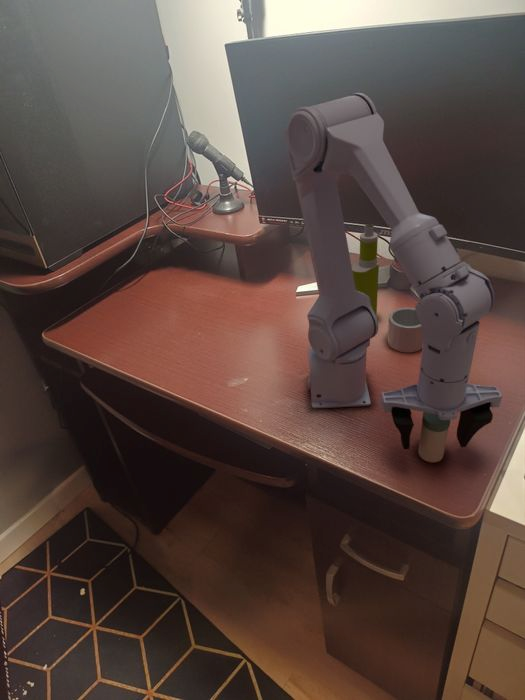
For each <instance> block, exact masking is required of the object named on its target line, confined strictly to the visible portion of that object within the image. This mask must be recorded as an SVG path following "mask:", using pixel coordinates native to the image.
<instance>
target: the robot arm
mask: <svg viewBox="0 0 525 700" xmlns="http://www.w3.org/2000/svg"><path fill="white" fill-rule="evenodd" d="M384 131H385V121H384V120H383V118H382V117H381V116H380V114H379V113H378V111H377V108H376V106H375V104H374V102H373V101H372V99H371V98H370V97H369V96H368V95H366V94H365V93H361V92H354V93H351V94H349V95H348V96H345V97H341V98H337V99H334V100H329V101H325V102H321V103H319V104H313V105H311V106H301V107H298V108H296V109H295V110H294V111H293V112H292V113H291V115H290V117H289V119H288V122H287V124H286V127H285V129H284V131H283V139H284V142H285V148H286V153H287V157H288V162H289V163H288V164H289V167H290V171H291V176H292V180H293V182H295V187H296V191H297V192H296V193H297V197H298V202H299V206H300V211H301V215H302V220H303V225H304V230H305V234H306V240H307V244H308V249H309V253H310V258H311V263H312V268H313V272H314V277H315V282H316V288H317V292H318V297H317V298H316V300H315V302H314V304H313V305H312V307H311V308H310V310H309V311H308V313H307V315H306V316H307V320H308V330H307V331H308V332H307V339H308V342H309V345H310V348H308V349H307V350H308V351H307V353H308V369H309V377H307V384H308V389H310V400H311V408H312V409H329V408H350V407H351V408H352V407H369V406H371V397H370V393H369V389H368V383H367V379H366V378H367V350H368V347H370V346H371V339H373V338H374V337H376V335H378V332H379V321H378V317H377V315H375V313H374V311H373V309H372V307H371V303H370V298H369V296H367V295H365V294H364V293H362V292H359V291H357V290H356V289H355V283H354V278H353V272H352V266H351V265H352V262H351V255H350V250H349V244H348V239H347V238H348V237H347V233H346V232H347V231H346V228H345V221H344V215H343V210H342V205H341V204H342V203H341V197H340V193H339V187H338V180H339V178H340V176H341V175H345V176H351V177H353V178H354V180H355V181H356V183H357V184H358V185H359V187H360V188H361V189H362V190H363V192H364V193H365V195H366V197H367V198H368V200H370V202H371V203H372V205H373V206H374V207H375V209H376V210H377V212H378V213H379V215H380V217H382V219H383V220H384V222H385V223H386V224H387V226H388V227H389V229H390V230H391V234H390V240H389V244H388V245H389V246H388V247H389V250H390V251H391V253H392V254H393V256H394V257H395V259H396V261H397V263H398V264H399V266H400V268H401V269H402V271H403V272H404V274H405V276H406V278H407V280H408V282H409V283H410V284H411V286H412V288H413V289H414V291H415V293H416V294H417V296H418V298H419V299H420V301H419V302H418V303H415V307H414V308H415V309H416V314H417V317H418V320H419V322H420V324H421V326H422V335H421V337H422V338H423V347H422V349H421V357H420V365H419V373H418V382H417V383H414V384H411V385H407V386H404V387H401V388H399V389H395V390H391V391H381V399H380V400H381V401H380V402H381V408H382V412H383V414H386V413H387V414H388V413H391V418H392V422H393V424H394V426H395V428H396V429H397V430H398V432H399V434H400V442H401V445H402V449H403V450H410V445H411V433H412V431H413V427H414V426H415V425H414V421H413V418H412V411H416V412H422V413H423V412H427V413H432V414H437V415H438V417H439V418H440V419H441V420H450V421H453V420H456V419H457V417H458V413H459V419H458V424H457V428H456V439H457V441H458V444H459V446H460V448H466V447H467V446H468V445H469V443H470V441H471V440H472V439H473V437H474V436H475V435H476V434H477V433H478V432H479V431H480V430H481V429H483V428H484V427H485V426H487V425H490V424H491V423H492V420H493V418H494V414H493V412H492V409H493V408H494V409H495V408H500V407H501V402H502V399H503V395H502V393H501V391H500V389H499V388H498V386H496V385H494V386H493V385H481V384H480V385H479V384H475V383H469V377H470V374H471V368H472V364H473V358H474V353H475V349H476V344H477V339H478V333H479V329H480V322H481V321H480V320H481V319H483V318H484V317H486V315H487V314H489V313H490V312H491V311H492V309H493V307H494V305H495V301H496V300H495V299H496V296H495V291H494V288H493V286H492V284H491V280H490V279H489V278H488V277H487V276H486V275H485V274H484V273H483V272H480V271H479V270H476V269H474V268H473V267H471V266H470V264H469V263H466V262H465V261H463V260H462V259H461V256H460V255H459V254H458V252H457V250H456V249H455V247H454V245H453V244H452V242H451V241H450V239H449V237H448V236H447V235H448V231H447V230H446V229H445V227H444V226H443V224H440V222H439V221H438V219H437V218H436V217H434V216H432V215H427V214H424V213H421V212H419V209H418V208H417V205H416V204H415V201H414V199H413V197H412V195H411V194H410V192H409V190H408V187H407V186H406V183H405V181H404V180H403V177H402V175H401V174H400V172H399V170H398V168H397V166H396V164H395V162H394V160H393V158H392V156H391V154H390V152H389V150H388V148H387V146H386V144H385V142H384ZM491 408H492V409H491Z"/></svg>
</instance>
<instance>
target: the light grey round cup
mask: <svg viewBox="0 0 525 700" xmlns="http://www.w3.org/2000/svg"><path fill="white" fill-rule="evenodd" d="M387 323H388V324H387V344H388V346H389V347H390V348H391V349H393V350H394V351H397V352H401V353H416V352H418V351H420V350H422V347H423V338H422V337H421V335H422V326H421V324H420V322H419V320H418V317H417V314H416V309H415V307H409V306H408V307H407V306H406V307H399V308H395V309H393V310H392V311H391V312H390V313H389V315H388V322H387Z"/></svg>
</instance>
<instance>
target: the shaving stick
mask: <svg viewBox="0 0 525 700" xmlns="http://www.w3.org/2000/svg"><path fill="white" fill-rule="evenodd" d="M450 425H451V420H441V419H440V418H439V417H438V415H437V414H432V413H427V412H422V417H421V428H420V435H419V442H418V443H419V444H418V450H417V451H418V455H419V457H420V458H421V459H422V460H423V461H426V462H428V463H438V462H440V461H442V460H443V458H444V456H445V455H444V454H445V451H446V450H445V449H446V444H447V440H448V439H447V438H448V433H449V429H450Z"/></svg>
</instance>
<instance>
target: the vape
mask: <svg viewBox="0 0 525 700" xmlns="http://www.w3.org/2000/svg"><path fill="white" fill-rule="evenodd" d="M374 229H375V226H374V224H372V223H367V224H365V225H364V232H362V233H360V235H359V258H358V259H359V260H358V261H357V262H355V263H353V264H351V266H352V272H353V278H354V283H355V289H356V290H357V291H359V292H362V293H364V294H365V295H367V296H369V298H370V303H371V307H372V309H373V311H374V313H375V315H376V316H377V314H378V295H379V294H378V293H379V271H380V270H379V269H380V262H379V261H378V240H379V234H378V233H377V232H375V231H374Z"/></svg>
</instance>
